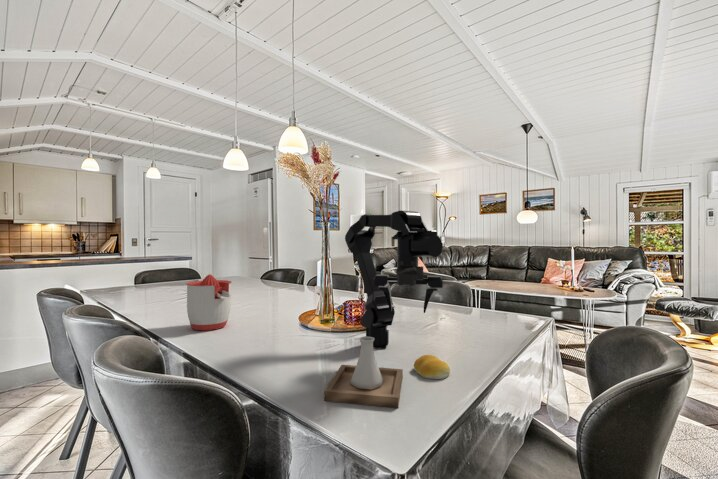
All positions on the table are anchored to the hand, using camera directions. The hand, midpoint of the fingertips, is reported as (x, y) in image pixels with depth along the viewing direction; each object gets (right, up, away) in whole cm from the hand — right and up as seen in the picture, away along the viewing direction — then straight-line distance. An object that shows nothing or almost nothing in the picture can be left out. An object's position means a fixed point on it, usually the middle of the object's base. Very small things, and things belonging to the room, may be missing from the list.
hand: (407, 311), depth 93 cm
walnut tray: (-12, -13, -19) cm, 26 cm away
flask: (-12, -12, -19) cm, 25 cm away
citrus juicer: (-69, -13, +32) cm, 78 cm away
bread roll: (+5, -13, -10) cm, 17 cm away
